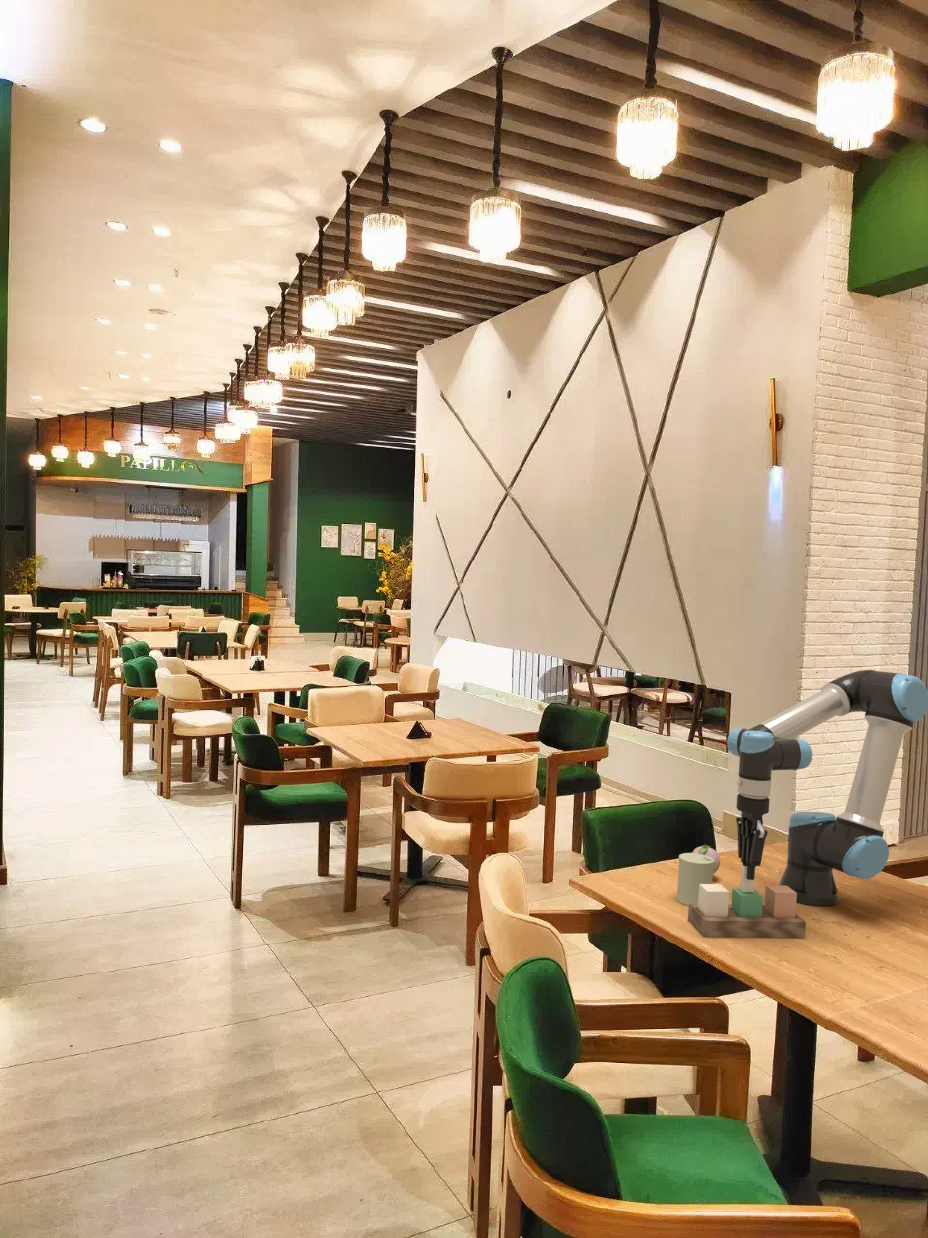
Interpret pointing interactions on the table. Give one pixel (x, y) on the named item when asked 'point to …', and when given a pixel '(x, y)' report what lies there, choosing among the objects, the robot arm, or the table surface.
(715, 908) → the cream block
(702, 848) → the decorative fruit
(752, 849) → the robot arm
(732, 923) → the walnut board
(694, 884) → the can
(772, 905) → the terracotta block
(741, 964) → the table surface
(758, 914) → the green block
